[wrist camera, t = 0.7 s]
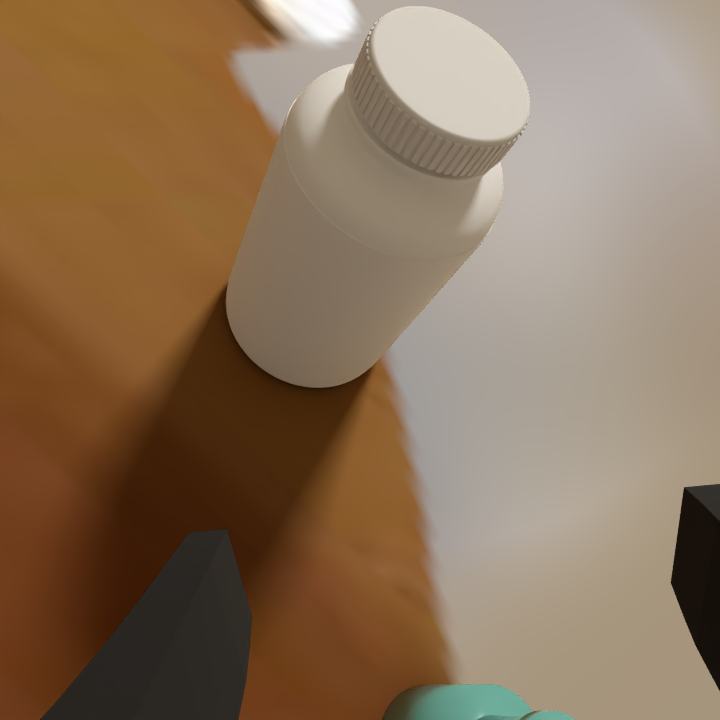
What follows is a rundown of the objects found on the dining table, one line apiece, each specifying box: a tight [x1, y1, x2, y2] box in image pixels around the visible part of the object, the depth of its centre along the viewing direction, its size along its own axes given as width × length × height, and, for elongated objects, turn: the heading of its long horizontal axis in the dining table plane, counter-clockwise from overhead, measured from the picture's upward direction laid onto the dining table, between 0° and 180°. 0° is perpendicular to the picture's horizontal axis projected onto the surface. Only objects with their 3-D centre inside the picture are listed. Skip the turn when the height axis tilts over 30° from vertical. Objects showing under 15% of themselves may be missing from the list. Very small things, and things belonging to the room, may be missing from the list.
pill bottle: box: [226, 6, 530, 388], centre depth 25 cm, size 8×8×15 cm
